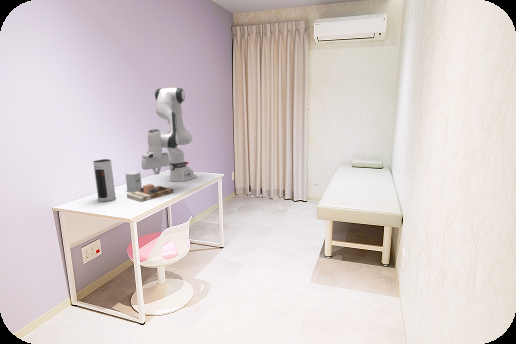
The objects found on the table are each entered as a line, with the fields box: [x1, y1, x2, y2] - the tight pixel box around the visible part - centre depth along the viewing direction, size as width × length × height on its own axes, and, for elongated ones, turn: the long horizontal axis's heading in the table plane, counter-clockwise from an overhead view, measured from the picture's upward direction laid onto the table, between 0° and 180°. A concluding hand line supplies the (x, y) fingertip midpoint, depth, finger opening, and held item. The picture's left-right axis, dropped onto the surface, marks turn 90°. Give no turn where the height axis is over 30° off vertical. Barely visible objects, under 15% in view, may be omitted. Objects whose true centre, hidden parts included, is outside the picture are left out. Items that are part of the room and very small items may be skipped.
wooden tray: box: [126, 185, 174, 203], centre depth 218 cm, size 25×16×5 cm, turn 142°
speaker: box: [92, 158, 116, 203], centre depth 207 cm, size 11×10×26 cm
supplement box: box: [125, 171, 143, 193], centre depth 230 cm, size 7×7×13 cm
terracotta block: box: [142, 183, 155, 193], centre depth 217 cm, size 5×5×4 cm
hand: (157, 174), depth 220 cm, fingers closed
